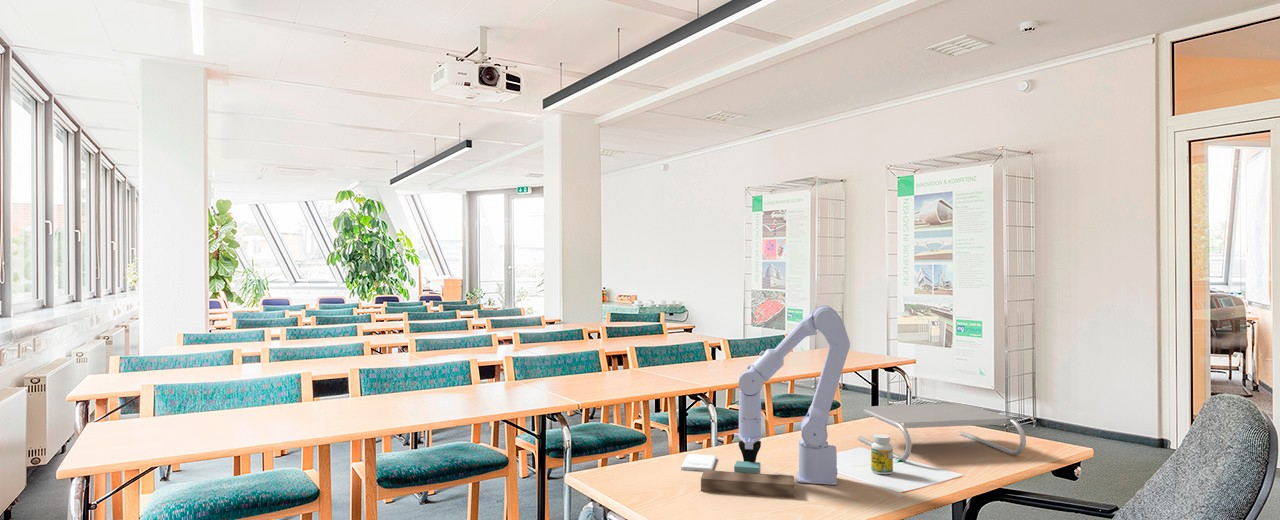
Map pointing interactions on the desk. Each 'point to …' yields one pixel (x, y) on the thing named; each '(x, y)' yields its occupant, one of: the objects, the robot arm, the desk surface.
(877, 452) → the supplement bottle
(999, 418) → the monitor stand
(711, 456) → the external hard drive
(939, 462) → the desk surface
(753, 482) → the walnut board
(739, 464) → the teal block
